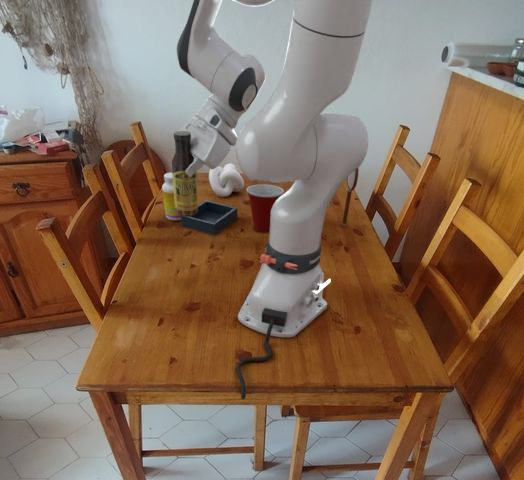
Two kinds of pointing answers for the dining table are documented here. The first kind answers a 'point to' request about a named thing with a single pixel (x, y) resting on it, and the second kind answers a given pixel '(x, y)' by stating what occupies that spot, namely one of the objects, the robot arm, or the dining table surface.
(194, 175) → the sauce bottle
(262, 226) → the plastic cup
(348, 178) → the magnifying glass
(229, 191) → the white knot sculpture
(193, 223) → the tray
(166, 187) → the supplement bottle
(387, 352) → the dining table surface
